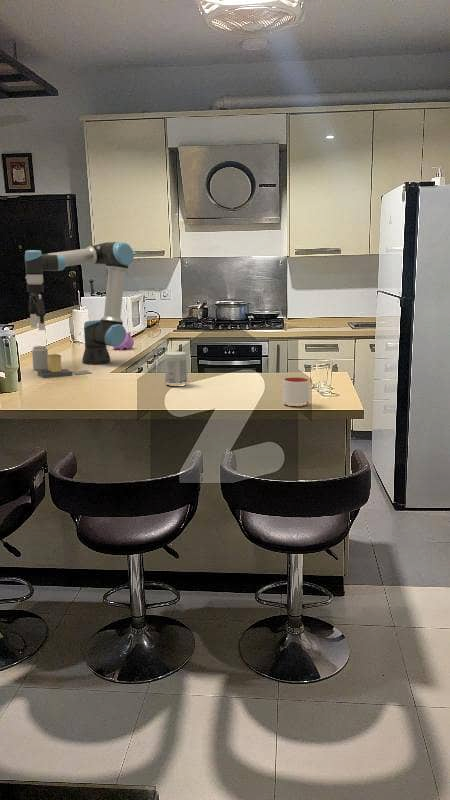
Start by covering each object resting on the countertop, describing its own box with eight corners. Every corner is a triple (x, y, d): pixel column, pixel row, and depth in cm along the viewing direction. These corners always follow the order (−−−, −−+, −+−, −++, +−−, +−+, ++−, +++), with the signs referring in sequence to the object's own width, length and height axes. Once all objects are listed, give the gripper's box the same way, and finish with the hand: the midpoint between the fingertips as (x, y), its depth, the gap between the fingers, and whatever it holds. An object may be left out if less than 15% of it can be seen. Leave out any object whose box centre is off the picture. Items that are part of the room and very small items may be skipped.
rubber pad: (86, 370, 312) (86, 370, 312) (92, 373, 306) (92, 372, 306) (70, 372, 308) (70, 371, 308) (76, 374, 301) (76, 374, 301)
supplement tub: (183, 382, 283) (183, 351, 280) (189, 386, 274) (189, 353, 271) (162, 384, 280) (162, 351, 277) (168, 388, 271) (167, 354, 268)
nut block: (58, 374, 303) (57, 354, 301) (62, 375, 299) (61, 355, 297) (47, 375, 300) (46, 354, 298) (51, 376, 296) (50, 356, 294)
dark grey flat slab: (65, 372, 307) (65, 368, 306) (72, 375, 300) (71, 371, 299) (37, 375, 299) (37, 371, 299) (43, 378, 292) (43, 373, 292)
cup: (280, 402, 245) (281, 377, 242) (305, 401, 245) (306, 377, 243) (285, 408, 235) (285, 382, 233) (310, 407, 236) (311, 381, 234)
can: (44, 371, 311) (42, 347, 308) (30, 370, 313) (29, 347, 310) (51, 368, 318) (49, 345, 316) (37, 368, 320) (36, 345, 317)
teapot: (141, 350, 388) (140, 330, 385) (120, 352, 379) (120, 332, 377) (125, 346, 403) (125, 328, 401) (106, 348, 395) (105, 329, 392)
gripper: (20, 283, 299) (23, 326, 304) (34, 284, 278) (37, 331, 283) (35, 282, 303) (38, 326, 308) (50, 284, 282) (53, 330, 287)
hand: (37, 328), depth 295 cm, fingers open, 13 cm apart
